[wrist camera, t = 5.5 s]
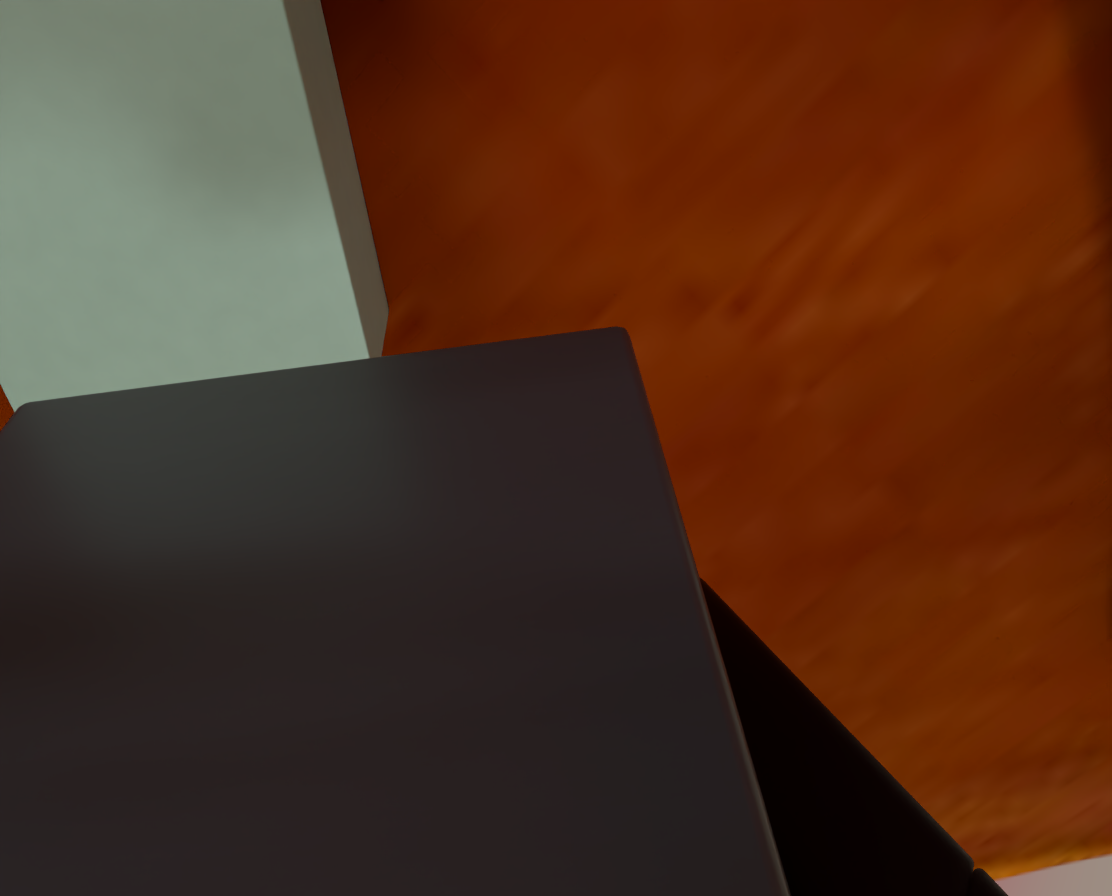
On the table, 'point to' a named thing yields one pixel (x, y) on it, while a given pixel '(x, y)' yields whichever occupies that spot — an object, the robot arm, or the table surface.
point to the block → (366, 639)
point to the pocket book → (176, 197)
